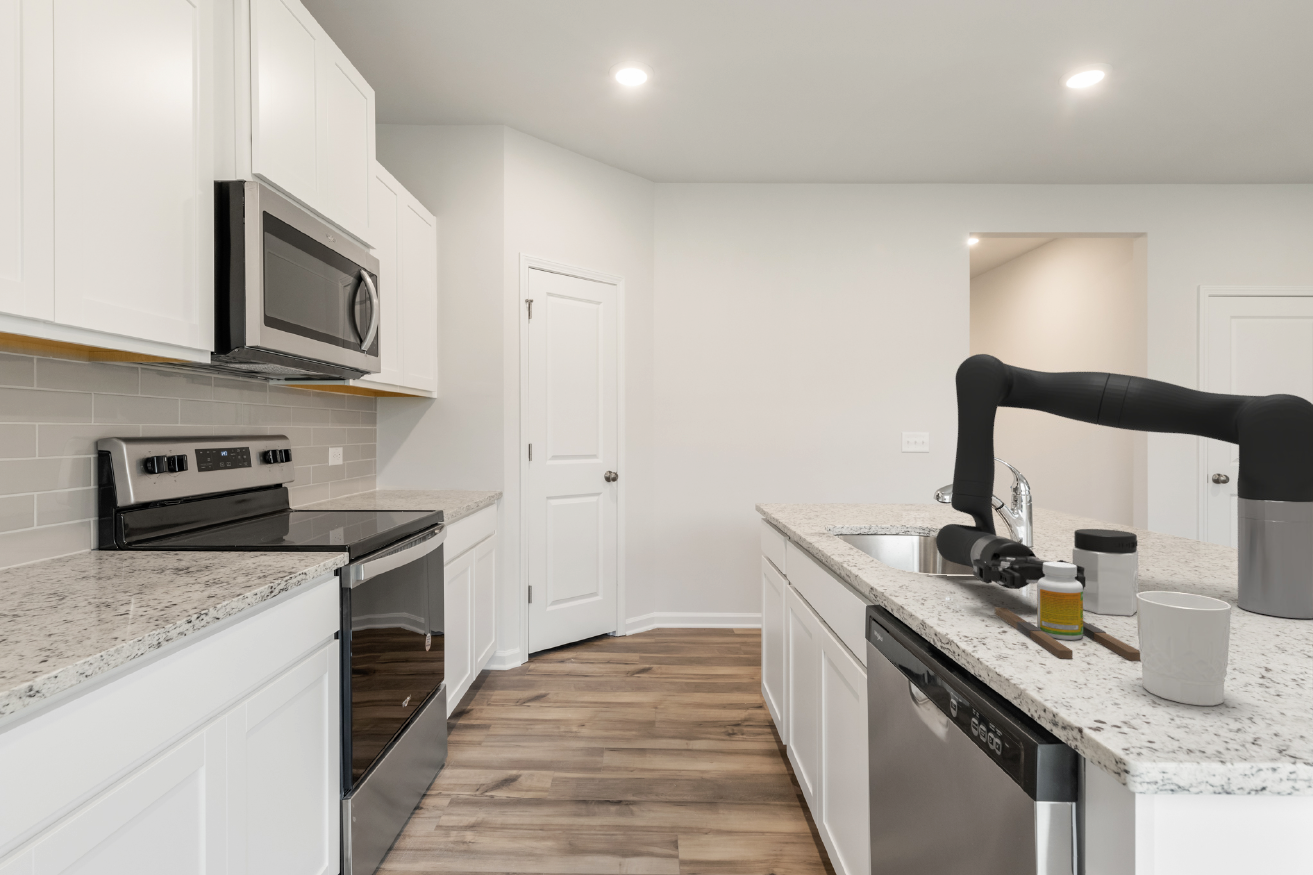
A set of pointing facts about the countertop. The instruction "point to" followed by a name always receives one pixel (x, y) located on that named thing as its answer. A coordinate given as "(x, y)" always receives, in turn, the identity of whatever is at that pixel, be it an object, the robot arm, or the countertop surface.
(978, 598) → the countertop surface
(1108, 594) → the jar
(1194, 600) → the white cup
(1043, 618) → the supplement bottle
